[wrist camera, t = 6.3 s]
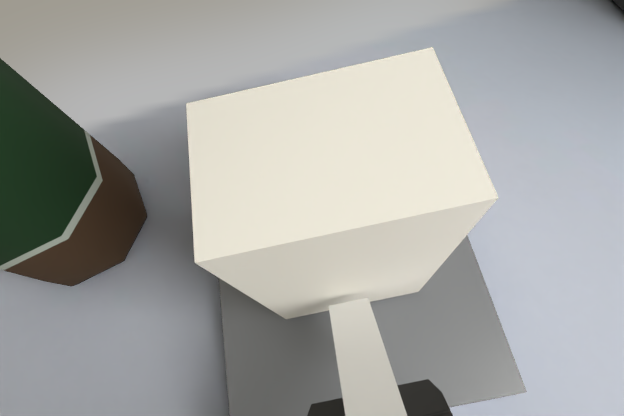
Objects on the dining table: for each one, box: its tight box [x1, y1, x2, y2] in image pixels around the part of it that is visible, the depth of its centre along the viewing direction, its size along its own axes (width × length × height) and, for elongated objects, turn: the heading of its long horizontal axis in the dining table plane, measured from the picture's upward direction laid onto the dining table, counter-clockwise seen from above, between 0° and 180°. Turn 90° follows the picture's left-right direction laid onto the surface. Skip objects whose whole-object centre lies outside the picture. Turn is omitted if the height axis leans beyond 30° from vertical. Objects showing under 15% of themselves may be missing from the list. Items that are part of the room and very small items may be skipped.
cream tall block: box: [186, 47, 498, 319], centre depth 12 cm, size 6×4×10 cm, turn 101°
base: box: [219, 235, 527, 416], centre depth 19 cm, size 12×17×2 cm
